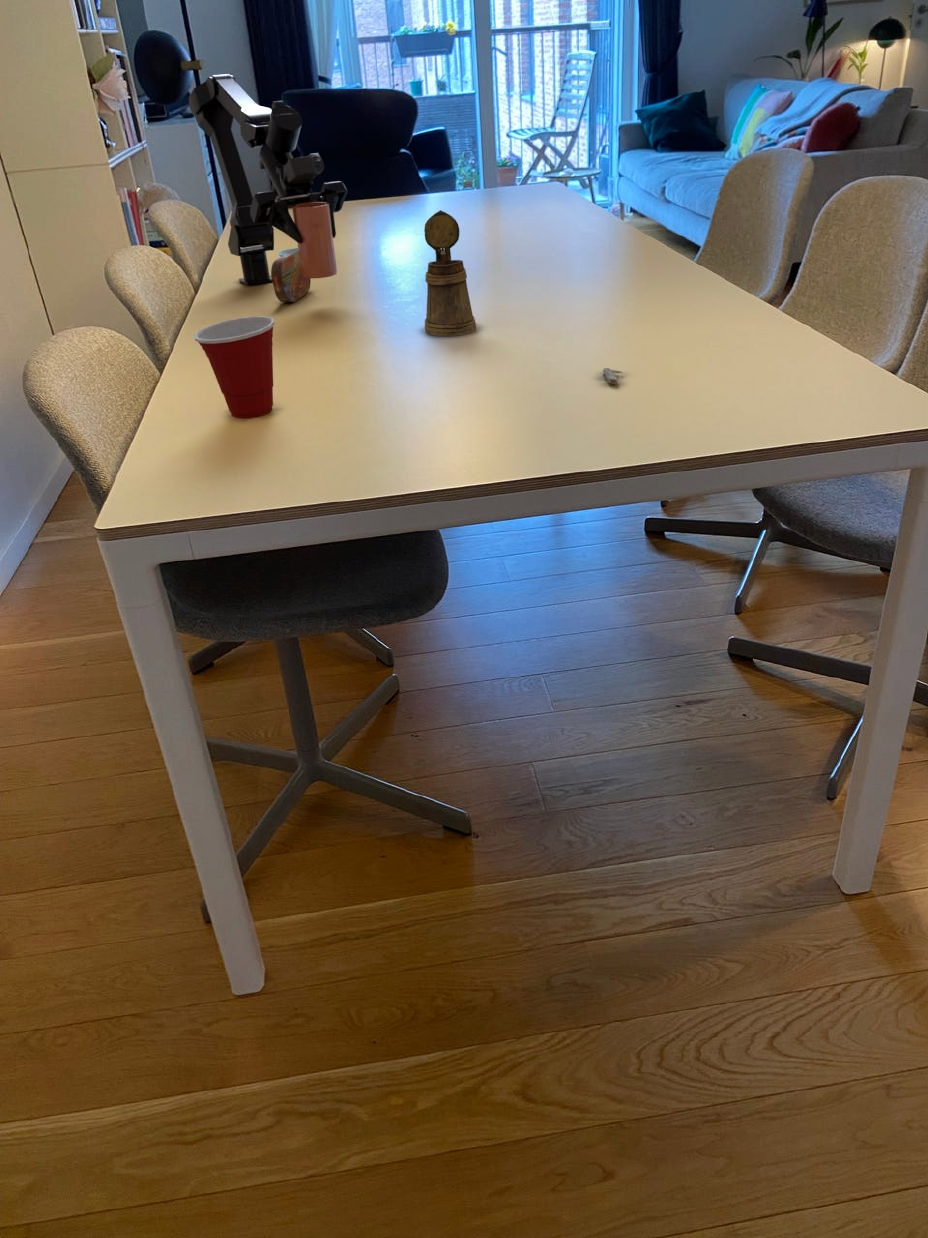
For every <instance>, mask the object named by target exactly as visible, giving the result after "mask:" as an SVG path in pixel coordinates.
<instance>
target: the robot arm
mask: <svg viewBox="0 0 928 1238" xmlns="http://www.w3.org/2000/svg"><path fill="white" fill-rule="evenodd" d="M188 105H189V109H190V112H191V114H192V115H193V116H194V118H195V121H196V123H197V126H198V127H199V128H200V130H202V131H203V132H204V133H205V134H206V135H207V136H208V137H209V138H210V141H211V144H212V148H213V150H214V154H215V156H216V160H217V162H218V166H219V169H220V172H221V176H222V179H223V181H224V185H225V187H226V190H227V194H228V197H229V201H230V203H231V207H232V210H231V213H230V219H229V224H230V230H229V231H230V232H229V237H228V242H227V246H228V250H229V252H230V254H231V255H233V256H236V257H239V260H240V265H241V271H242V276H243V277H241V278H238V281H239V282H240V283H242V284H244V285H247V286H253V285H258V284H263V283H269V282H273V281H272V278H271V274H270V271H269V264H268V258H267V252H268V251H275V229H277V230H278V231H280V232H282V233H283V234H285V235H286V236H287V237H289V238H290V239H292V240H293V241H295V242H296V243H297V242H298V243H299V244H301V243H302V237H301V235H300V233H299V231H298V229H297V227H296V225H295V223H294V219H293V218H292V216H291V214H290V210H292V206H293V205H296V204H300V203H308V202H327V203H328V204H329V210H330V218H331V226H332V234H333V239H335V238H336V235H337V231H336V223H335V213H338V212H340V211H341V210H342V209H343V205H344V204H345V201H346V198H347V194H348V189H347V187H346V185H345V184H344V182H343V181H340V180H337V181H330V182H323V183H322V186H321V190H320V191H319V192H313V193H312V192H311V189H313V188H314V183H315V182H314V181H313V180H314V178H315V177H317V176H318V175H320V174H322V172H323V171H324V170H325V164H324V162H323V159H322V157H321V156H320V154H319V152H316V153H315V152H314V153H309V155H306V156H298V157H293V155H292V152H294V151H295V150H296V149H297V144H298V142H299V141H298V140H299V136H300V133H301V129H302V125H303V117H302V115H301V113H300V112H298V111H297V110H296V109H294V108H293V107H291V106H289V105H286V104H285V103H284V101H283V100H277V101H272V104H271V108H270V107H266V106H261V105H259V104H258V103H256V102H255V101H254V100H253V99H252V98H251V97H250V96H249V94H248V93H247V92H246V91H245V90H244V89H243V88H242V87H241V86H240V85H239V84H238V83H237V81H236V78H235V77H234V75H231V74H229V73H225V74H224V73H223V74H213V75H210V76H208V77H207V78H206V80H205V81H204V82H202V83H201V84H198V85H197V86H196V87H194V88H193V90H192V91H191V92H190V94H189V96H188ZM234 120H235V121H236V122H237V123H238V124H239V127H240V128H239V129H240V130H239V131H240V136H241V138H242V140H243V141H244V142H245V144H246V145H247V147H249V148H251V149H254V148H255V149H256V148H260V151H259V154H258V155H259V156H258V157H259V168H260V170H265V172H266V173H267V175H268V176H269V179H270V181H271V182H272V184H271V190H265V191H259V192H254V194H253V193H252V190H251V187H250V183H249V181H248V177H247V174H246V171H245V168H244V165H243V162H242V159H241V155H240V152H239V149H238V145H237V143H236V140H235V136H234V134H233V130H232V127H233V123H234ZM274 228H275V229H274Z"/></svg>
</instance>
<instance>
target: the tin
mask: <svg viewBox="0 0 928 1238" xmlns="http://www.w3.org/2000/svg"><path fill="white" fill-rule="evenodd" d="M270 268H271V269H270V270H271V271H270V276H271V278H272V281H271V282H272V286H273V289H274V294H275V297H276V298H277V300H278V301H279V302H281V303H296V302H297V301H298V300H300V299H301V298H302V297H304V296H305V295H307V294H308V293H309V291H310V288H311V278H304V277H302V272H301V266H300V259H299V252H298V251H296V252H289V253H287V254H285V255H284V256H282V257H280V256H279V257H278V258H277V259H275V260H274V261H273V262H272V265H271V267H270Z"/></svg>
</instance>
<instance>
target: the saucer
mask: <svg viewBox="0 0 928 1238" xmlns="http://www.w3.org/2000/svg"><path fill="white" fill-rule="evenodd" d="M296 251H298V247H293V248H288V249H284V250H280V251H278V253H277V255H278V256H279V258H280V257H282V256H284V255H285V254H287V253H289V252H296Z"/></svg>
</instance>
